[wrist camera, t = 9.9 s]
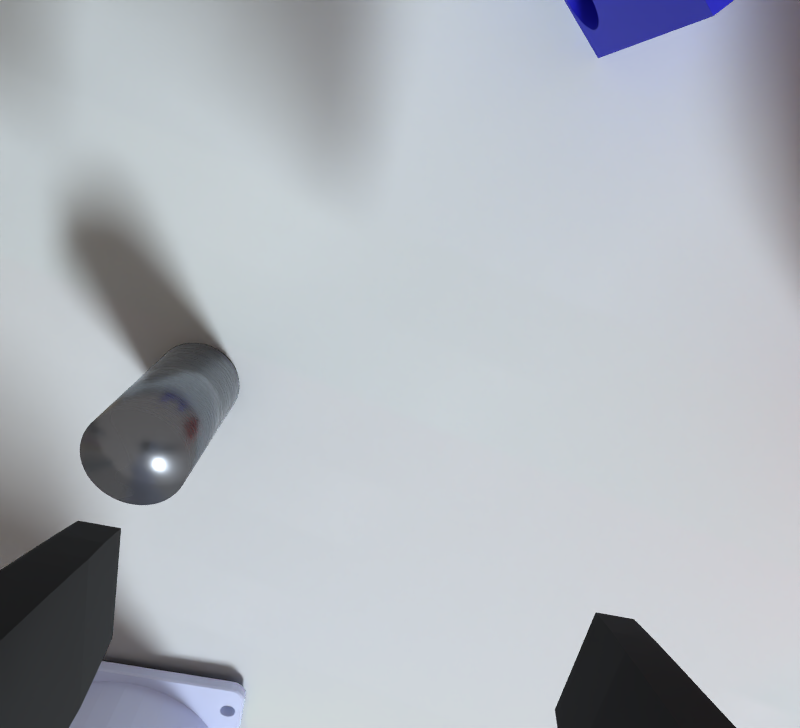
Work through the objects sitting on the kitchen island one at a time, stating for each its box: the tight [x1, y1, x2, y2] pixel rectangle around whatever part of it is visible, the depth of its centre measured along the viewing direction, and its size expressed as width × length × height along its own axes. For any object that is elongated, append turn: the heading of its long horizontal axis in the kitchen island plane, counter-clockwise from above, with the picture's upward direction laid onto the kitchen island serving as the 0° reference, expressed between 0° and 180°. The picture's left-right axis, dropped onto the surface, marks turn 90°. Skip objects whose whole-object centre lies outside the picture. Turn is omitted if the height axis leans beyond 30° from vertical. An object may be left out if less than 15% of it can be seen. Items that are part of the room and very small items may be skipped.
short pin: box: [80, 343, 239, 505], centre depth 16 cm, size 2×2×4 cm
